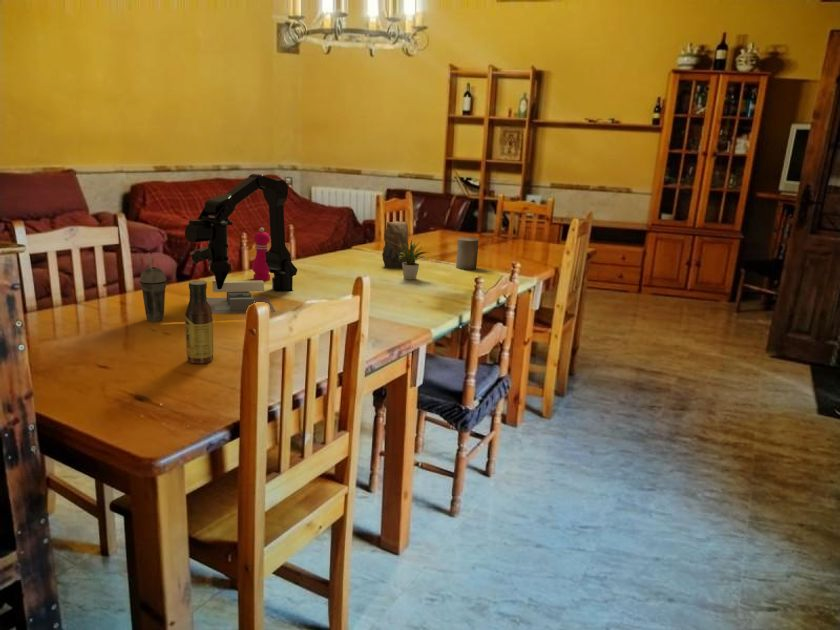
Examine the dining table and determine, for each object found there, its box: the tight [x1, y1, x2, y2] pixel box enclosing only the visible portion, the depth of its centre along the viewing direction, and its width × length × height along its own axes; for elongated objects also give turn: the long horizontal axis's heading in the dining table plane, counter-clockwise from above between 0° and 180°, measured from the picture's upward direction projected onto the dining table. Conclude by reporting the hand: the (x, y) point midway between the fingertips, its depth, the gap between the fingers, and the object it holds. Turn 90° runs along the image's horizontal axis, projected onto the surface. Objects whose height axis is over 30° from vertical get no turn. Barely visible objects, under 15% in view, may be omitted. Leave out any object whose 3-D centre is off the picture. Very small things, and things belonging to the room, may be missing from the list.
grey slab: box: [206, 292, 276, 315], centre depth 203 cm, size 20×20×4 cm
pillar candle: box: [455, 236, 480, 271], centre depth 291 cm, size 10×10×15 cm
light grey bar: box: [211, 280, 265, 293], centre depth 205 cm, size 16×3×3 cm, turn 111°
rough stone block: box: [381, 220, 410, 270], centre depth 285 cm, size 13×13×20 cm
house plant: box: [395, 239, 430, 280], centre depth 259 cm, size 14×14×16 cm
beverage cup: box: [139, 252, 168, 323], centre depth 181 cm, size 7×7×20 cm
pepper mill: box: [251, 227, 271, 282], centre depth 241 cm, size 7×7×20 cm
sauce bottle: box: [184, 279, 214, 365], centre depth 151 cm, size 7×6×20 cm
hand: (219, 288), depth 203 cm, fingers closed on light grey bar, 3 cm apart
